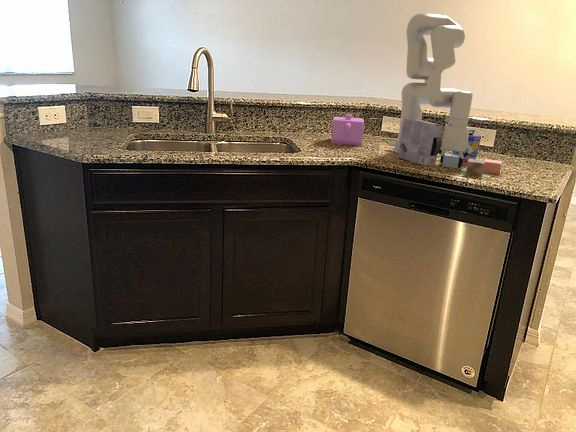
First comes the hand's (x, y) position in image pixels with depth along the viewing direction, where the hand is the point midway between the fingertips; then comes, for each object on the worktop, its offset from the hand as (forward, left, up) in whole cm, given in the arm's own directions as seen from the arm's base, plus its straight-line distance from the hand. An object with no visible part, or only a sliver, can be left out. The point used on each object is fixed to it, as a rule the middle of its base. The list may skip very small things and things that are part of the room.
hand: (450, 165), depth 195 cm
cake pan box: (-14, +1, -1) cm, 14 cm away
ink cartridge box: (+4, +14, -1) cm, 15 cm away
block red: (+16, 0, -1) cm, 16 cm away
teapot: (-54, +26, -1) cm, 60 cm away
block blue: (0, 0, -1) cm, 1 cm away
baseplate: (+10, -8, -1) cm, 13 cm away
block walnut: (+10, -9, 0) cm, 13 cm away
